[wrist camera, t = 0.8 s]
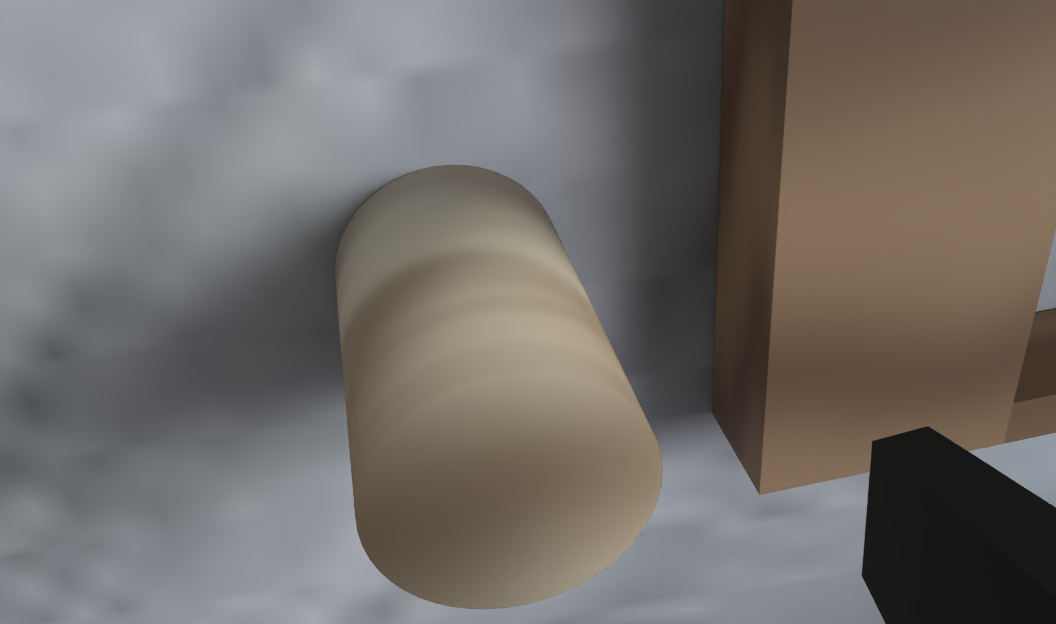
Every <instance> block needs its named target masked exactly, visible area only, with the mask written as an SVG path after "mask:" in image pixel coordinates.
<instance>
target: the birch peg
mask: <svg viewBox="0 0 1056 624" xmlns="http://www.w3.org/2000/svg"><path fill="white" fill-rule="evenodd" d="M335 284H336V296H337V308H338V320H339V331H340V343H341V355H342V366H343V378H344V390H345V401H346V413H347V425H348V437H349V448H350V460H351V472H352V483H353V495H354V507H355V518H356V525H357V531H358V535H359V537H360V540H361V543H362V546H363V548H364V550H365V552H366V553H367V555H368V557H369V559H370V560H371V561H372V563H373V564H374V565H375V566H376V568H377V569H378V570H379V571H380V572H381V573H382V574H383V575H384V576H385V577H386V578H388V579H389V580H390V581H391V582H392V583H394V584H395V585H397V586H398V587H400V588H401V589H403V590H404V591H407V592H409V593H411V594H413V595H415V596H417V597H419V598H422V599H425V600H428V601H431V602H434V603H437V604H442V605H446V606H451V607H458V608H467V609H495V608H507V607H513V606H519V605H525V604H529V603H533V602H536V601H540V600H544V599H547V598H549V597H552V596H555V595H558V594H561V593H563V592H565V591H567V590H569V589H572V588H574V587H576V586H578V585H580V584H582V583H583V582H585V581H587V580H588V579H590V578H592V577H594V576H595V575H597V574H598V573H599V572H601V571H602V570H604V569H605V568H606V567H608V566H609V565H610V564H612V563H613V562H614V561H615V560H616V559H617V558H618V557H620V556H621V555H622V554H623V553H624V552H625V551H626V550H627V549H628V547H629V546H630V545H631V544H632V543H633V542H634V541H635V540H636V538H637V537H638V536H639V534H640V533H641V532H642V530H643V529H644V527H645V525H646V524H647V522H648V520H649V518H650V517H651V515H652V513H653V510H654V508H655V505H656V503H657V500H658V497H659V492H660V488H661V483H662V459H661V453H660V449H659V445H658V442H657V439H656V437H655V435H654V433H653V431H652V429H651V427H650V425H649V423H648V421H647V419H646V416H645V414H644V412H643V410H642V408H641V406H640V404H639V402H638V400H637V398H636V396H635V394H634V392H633V390H632V387H631V385H630V383H629V381H628V379H627V377H626V375H625V373H624V371H623V369H622V367H621V365H620V363H619V361H618V359H617V356H616V354H615V352H614V350H613V348H612V346H611V344H610V342H609V340H608V338H607V336H606V334H605V332H604V330H603V328H602V325H601V323H600V321H599V319H598V317H597V315H596V313H595V311H594V309H593V307H592V305H591V303H590V301H589V299H588V296H587V294H586V292H585V290H584V288H583V286H582V284H581V282H580V280H579V278H578V276H577V274H576V272H575V270H574V268H573V265H572V263H571V261H570V259H569V257H568V255H567V253H566V251H565V249H564V247H563V245H562V243H561V241H560V239H559V236H558V234H557V232H556V230H555V228H554V226H553V224H552V222H551V220H550V218H549V216H548V214H547V212H546V211H545V209H544V208H543V206H542V205H541V204H540V202H539V201H538V200H537V199H536V198H535V197H534V196H533V195H532V194H531V193H530V192H529V191H528V190H526V189H525V188H524V187H523V186H521V185H520V184H519V183H517V182H515V181H514V180H512V179H510V178H509V177H506V176H504V175H502V174H499V173H497V172H494V171H491V170H487V169H484V168H480V167H473V166H466V165H446V166H435V167H430V168H426V169H421V170H418V171H415V172H412V173H409V174H406V175H404V176H402V177H400V178H398V179H396V180H394V181H392V182H390V183H388V184H387V185H385V186H384V187H382V188H381V189H379V190H378V191H376V192H375V193H374V194H373V195H372V196H371V197H369V198H368V199H367V200H366V201H365V202H364V203H363V204H362V205H361V206H360V208H359V209H358V210H357V211H356V212H355V214H354V215H353V217H352V218H351V220H350V221H349V222H348V224H347V226H346V228H345V230H344V232H343V234H342V236H341V239H340V242H339V245H338V248H337V253H336V259H335Z"/></svg>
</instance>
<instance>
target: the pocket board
mask: <svg viewBox="0 0 1056 624" xmlns="http://www.w3.org/2000/svg"><path fill="white" fill-rule="evenodd" d="M1055 228H1056V0H725V7H724V41H723V75H722V108H721V142H720V176H719V210H718V243H717V277H716V311H715V345H714V378H713V412H712V413H713V415H714V417H715V419H716V420H717V422H718V424H719V426H720V427H721V429H722V431H723V432H724V434H725V436H726V438H727V439H728V441H729V443H730V445H731V446H732V448H733V450H734V451H735V453H736V455H737V457H738V458H739V460H740V462H741V464H742V465H743V467H744V469H745V471H746V472H747V474H748V476H749V477H750V479H751V481H752V483H753V484H754V486H755V488H756V490H757V491H758V493H759V495H761V494H766V493H771V492H775V491H780V490H785V489H790V488H794V487H799V486H804V485H809V484H813V483H818V482H823V481H828V480H832V479H837V478H842V477H847V476H851V475H856V474H861V473H866V472H870V464H871V450H872V441H874V440H878V439H881V438H885V437H889V436H893V435H897V434H900V433H904V432H908V431H912V430H915V429H919V428H923V427H927V426H929V427H930V428H932V429H934V430H935V431H937V432H938V433H940V434H942V435H943V436H945V437H946V438H948V439H950V440H951V441H953V442H954V443H956V444H957V445H959V446H961V447H962V448H964V449H965V450H967V451H970V450H975V449H980V448H984V447H989V446H994V445H999V444H1003V443H1008V442H1013V441H1018V440H1022V439H1027V438H1032V437H1037V436H1041V435H1046V434H1051V433H1056V309H1053V310H1048V311H1043V312H1037V313H1035V311H1036V307H1037V303H1038V299H1039V295H1040V290H1041V286H1042V282H1043V278H1044V274H1045V270H1046V266H1047V261H1048V257H1049V253H1050V249H1051V245H1052V241H1053V237H1054V232H1055Z"/></svg>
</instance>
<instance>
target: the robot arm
mask: <svg viewBox="0 0 1056 624" xmlns="http://www.w3.org/2000/svg"><path fill="white" fill-rule="evenodd" d="M862 577H863V579H864V581H865V583H866V585H867V587H868V589H869V591H870V593H871V595H872V597H873V599H874V601H875V603H876V605H877V607H878V609H879V611H880V613H881V615H882V617H883V619H884V621H885V623H886V624H1056V508H1055V507H1054V506H1052V505H1051V504H1049V503H1048V502H1046V501H1044V500H1043V499H1041V498H1040V497H1038V496H1037V495H1035V494H1033V493H1032V492H1030V491H1029V490H1027V489H1026V488H1024V487H1022V486H1021V485H1019V484H1018V483H1016V482H1015V481H1013V480H1012V479H1010V478H1009V477H1007V476H1005V475H1004V474H1002V473H1001V472H999V471H998V470H996V469H995V468H993V467H992V466H990V465H988V464H987V463H985V462H984V461H982V460H981V459H979V458H978V457H976V456H974V455H973V454H971V453H970V452H968V451H967V450H965V449H964V448H962V447H961V446H959V445H957V444H956V443H954V442H953V441H951V440H950V439H948V438H946V437H945V436H943V435H942V434H940V433H938V432H937V431H935V430H934V429H932V428H930V427H929V426H927V427H923V428H919V429H915V430H912V431H908V432H904V433H900V434H897V435H893V436H889V437H885V438H881V439H878V440H874V441H872V450H871V464H870V477H869V490H868V503H867V516H866V529H865V542H864V555H863V568H862Z"/></svg>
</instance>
